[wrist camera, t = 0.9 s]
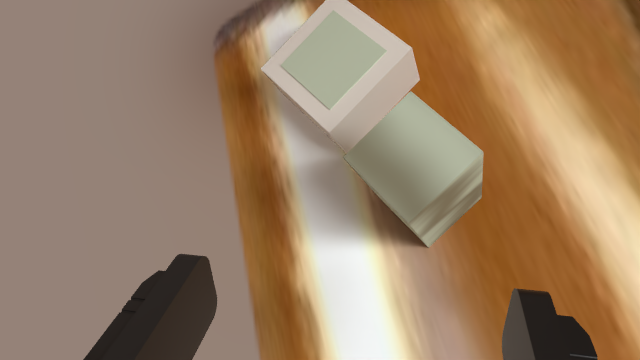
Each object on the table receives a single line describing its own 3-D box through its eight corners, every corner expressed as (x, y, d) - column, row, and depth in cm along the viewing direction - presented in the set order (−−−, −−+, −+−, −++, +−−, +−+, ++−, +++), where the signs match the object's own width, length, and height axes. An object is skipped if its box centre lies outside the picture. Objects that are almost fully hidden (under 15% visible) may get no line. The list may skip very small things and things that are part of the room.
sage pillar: (429, 150, 33) (410, 91, 24) (481, 197, 31) (483, 151, 22) (379, 198, 33) (342, 157, 24) (428, 247, 31) (408, 223, 22)
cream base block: (351, 28, 38) (334, -10, 33) (420, 81, 35) (411, 47, 30) (285, 96, 38) (259, 68, 34) (347, 155, 35) (328, 132, 31)
